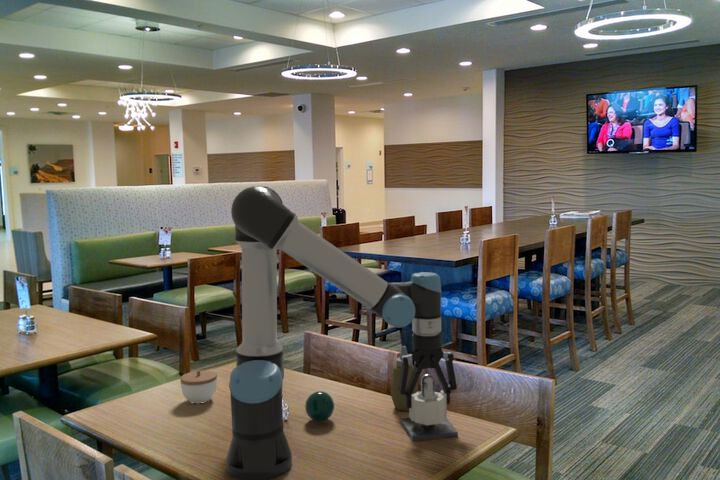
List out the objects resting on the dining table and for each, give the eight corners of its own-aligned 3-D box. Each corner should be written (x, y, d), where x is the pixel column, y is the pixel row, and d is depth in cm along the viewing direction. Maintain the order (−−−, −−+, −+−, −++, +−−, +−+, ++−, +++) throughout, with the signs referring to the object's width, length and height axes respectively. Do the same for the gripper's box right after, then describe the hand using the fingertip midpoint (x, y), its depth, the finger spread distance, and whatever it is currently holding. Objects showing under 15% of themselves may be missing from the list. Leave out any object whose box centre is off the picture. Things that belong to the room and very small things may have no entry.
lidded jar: (188, 394, 187) (186, 365, 186) (222, 394, 186) (220, 364, 185) (176, 407, 176) (174, 376, 175) (212, 407, 176) (210, 376, 175)
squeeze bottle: (417, 413, 167) (416, 351, 165) (389, 412, 168) (387, 350, 166) (420, 403, 174) (419, 343, 173) (393, 401, 176) (392, 342, 174)
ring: (417, 426, 151) (417, 403, 150) (409, 414, 159) (409, 392, 158) (447, 423, 152) (447, 400, 152) (437, 411, 160) (437, 389, 160)
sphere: (324, 412, 169) (323, 385, 169) (340, 421, 163) (339, 392, 162) (300, 419, 165) (299, 391, 164) (315, 428, 158) (314, 399, 157)
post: (412, 441, 149) (411, 383, 148) (400, 422, 161) (399, 369, 159) (457, 436, 151) (457, 379, 150) (442, 418, 163) (442, 365, 162)
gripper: (391, 339, 148) (393, 427, 150) (470, 333, 152) (470, 419, 154) (384, 331, 155) (386, 415, 157) (459, 326, 159) (460, 408, 161)
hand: (428, 417), depth 156 cm, fingers closed on ring, 8 cm apart
